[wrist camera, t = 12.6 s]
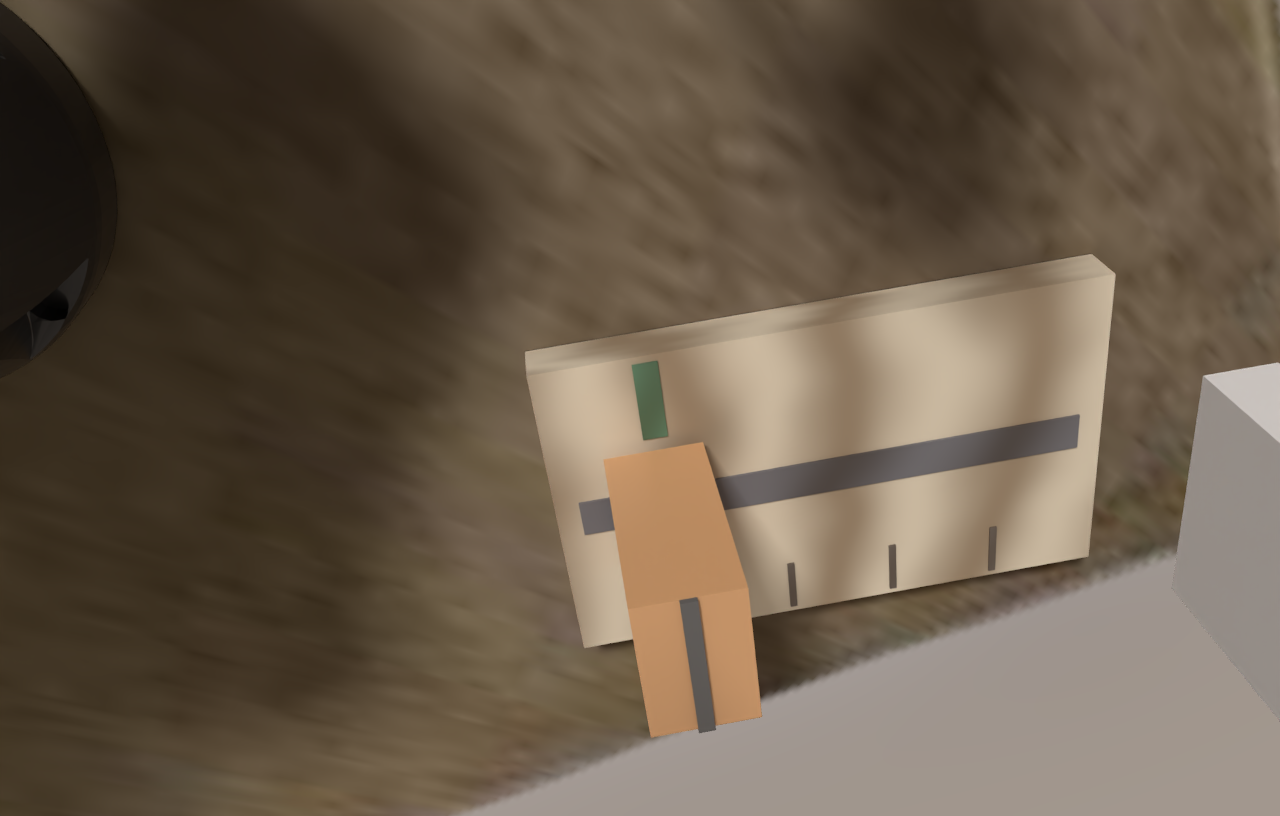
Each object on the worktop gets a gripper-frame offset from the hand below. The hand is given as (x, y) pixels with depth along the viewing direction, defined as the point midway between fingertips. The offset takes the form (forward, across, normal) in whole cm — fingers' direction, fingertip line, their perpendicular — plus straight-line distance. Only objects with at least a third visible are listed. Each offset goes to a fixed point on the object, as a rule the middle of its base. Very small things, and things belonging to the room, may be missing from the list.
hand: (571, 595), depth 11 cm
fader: (+28, +2, -20) cm, 35 cm away
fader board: (+31, +10, -20) cm, 38 cm away
